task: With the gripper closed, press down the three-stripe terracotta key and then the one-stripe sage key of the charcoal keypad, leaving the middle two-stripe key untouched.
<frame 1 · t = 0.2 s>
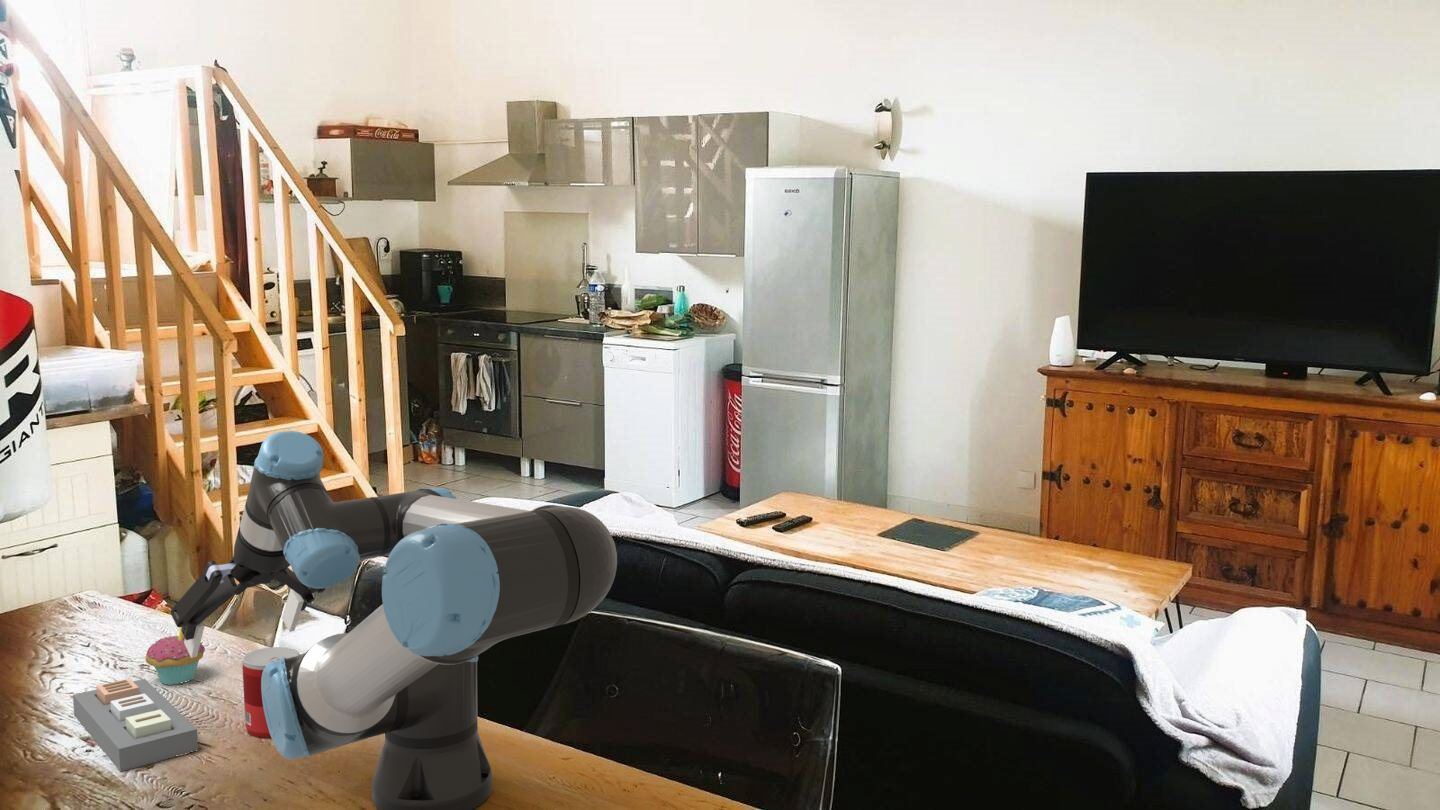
hand: (240, 636, 163), 16 cm above the table, tool tilted 35°, fingers open, 13 cm apart
cupcake: (176, 681, 189), on the table
tile 3: (117, 693, 174), point 4 cm above the table, slide at 0.0 cm
canned food: (274, 729, 172), on the table
keypad: (134, 732, 169), on the table
tile 2: (132, 708, 169), point 4 cm above the table, slide at 0.0 cm
tile 1: (148, 725, 163), point 4 cm above the table, slide at 0.0 cm
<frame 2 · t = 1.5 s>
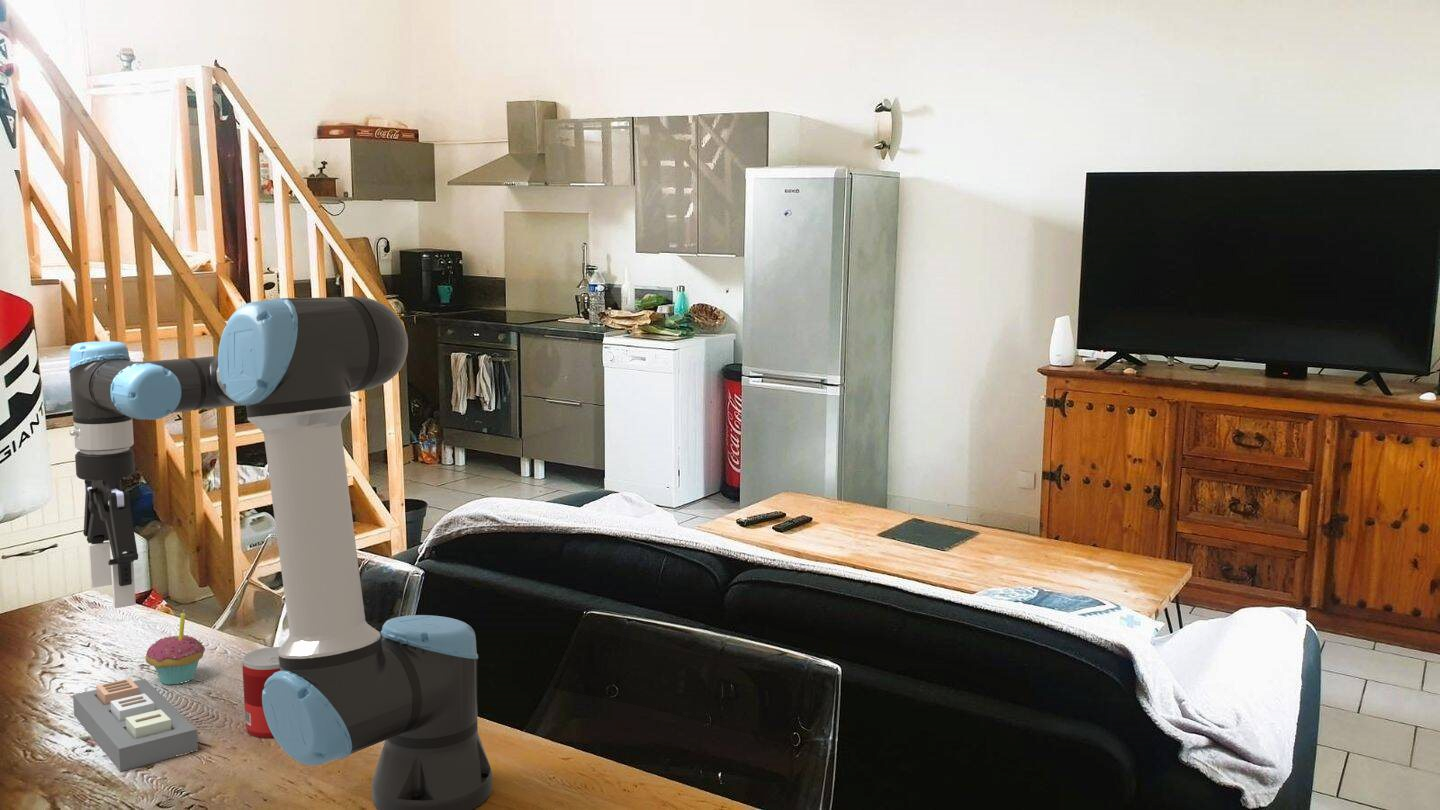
hand: (112, 595, 172), 19 cm above the table, tool pointing down, fingers open, 11 cm apart
nothing on the table moved.
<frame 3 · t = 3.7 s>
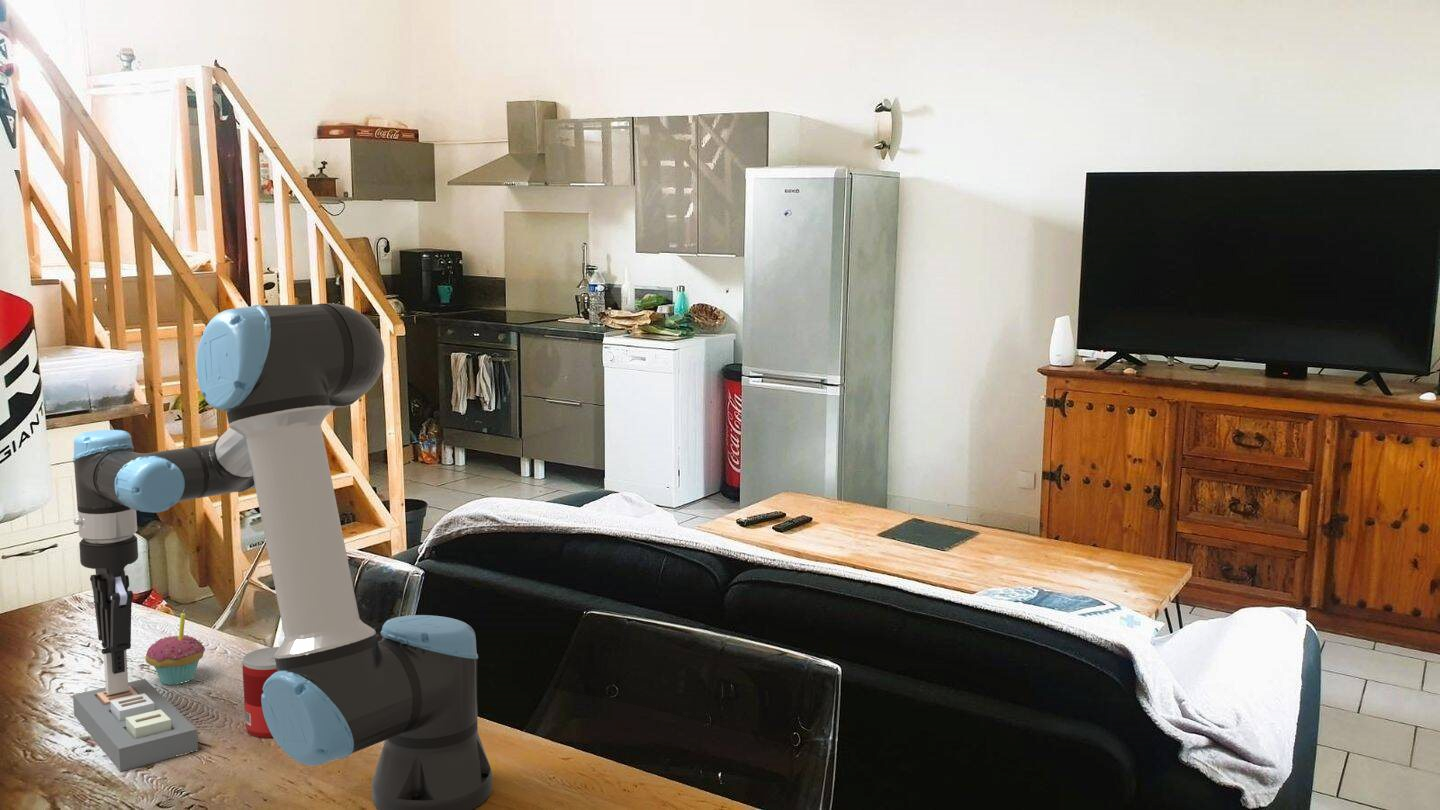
hand: (117, 691, 174), 4 cm above the table, tool pointing down, fingers closed
tile 3: (118, 700, 174), point 2 cm above the table, slide at 1.2 cm, touching gripper
everything else where it was.
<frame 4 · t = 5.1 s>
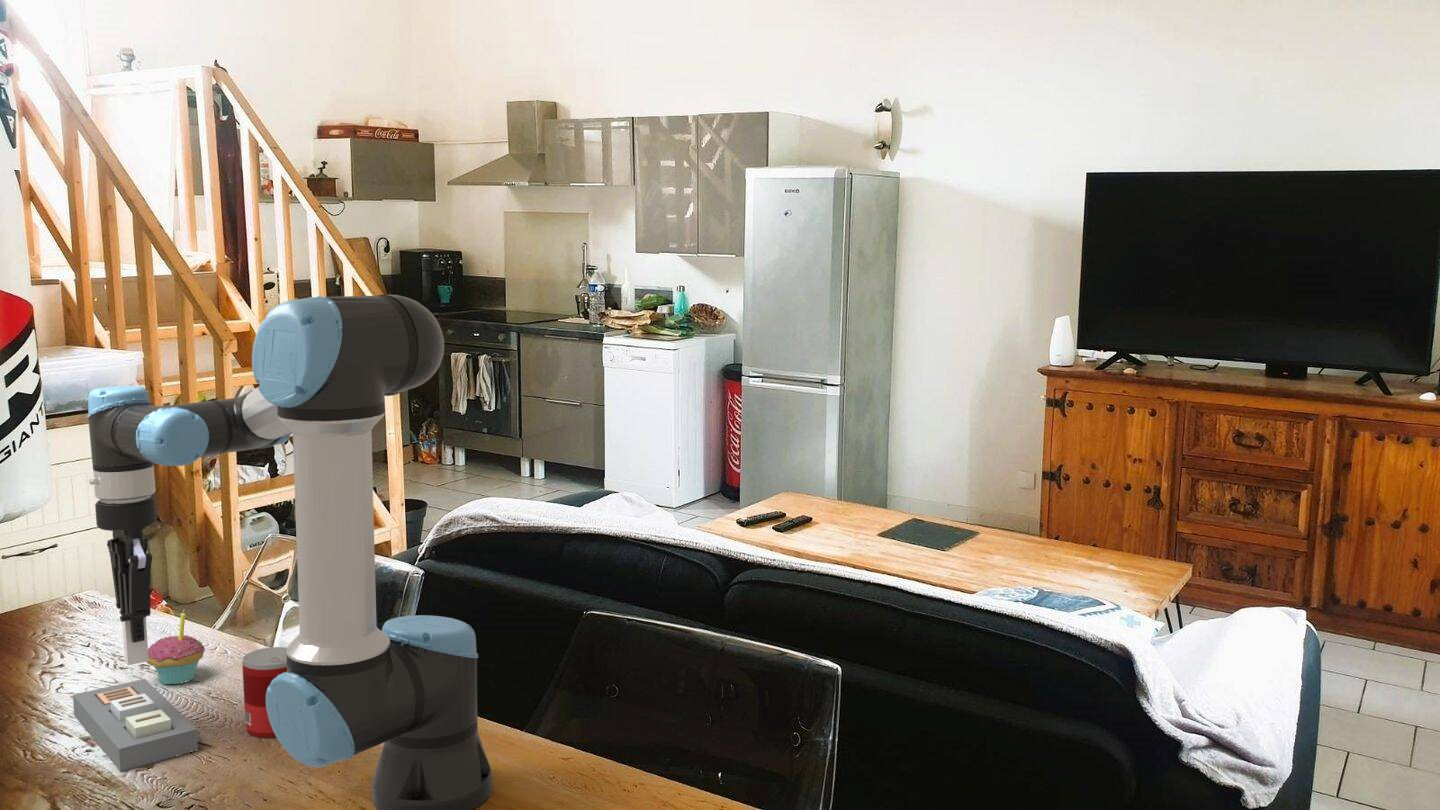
hand: (136, 661, 166), 11 cm above the table, tool pointing down, fingers closed
tile 3: (118, 701, 174), point 2 cm above the table, slide at 1.3 cm
everything else where it was.
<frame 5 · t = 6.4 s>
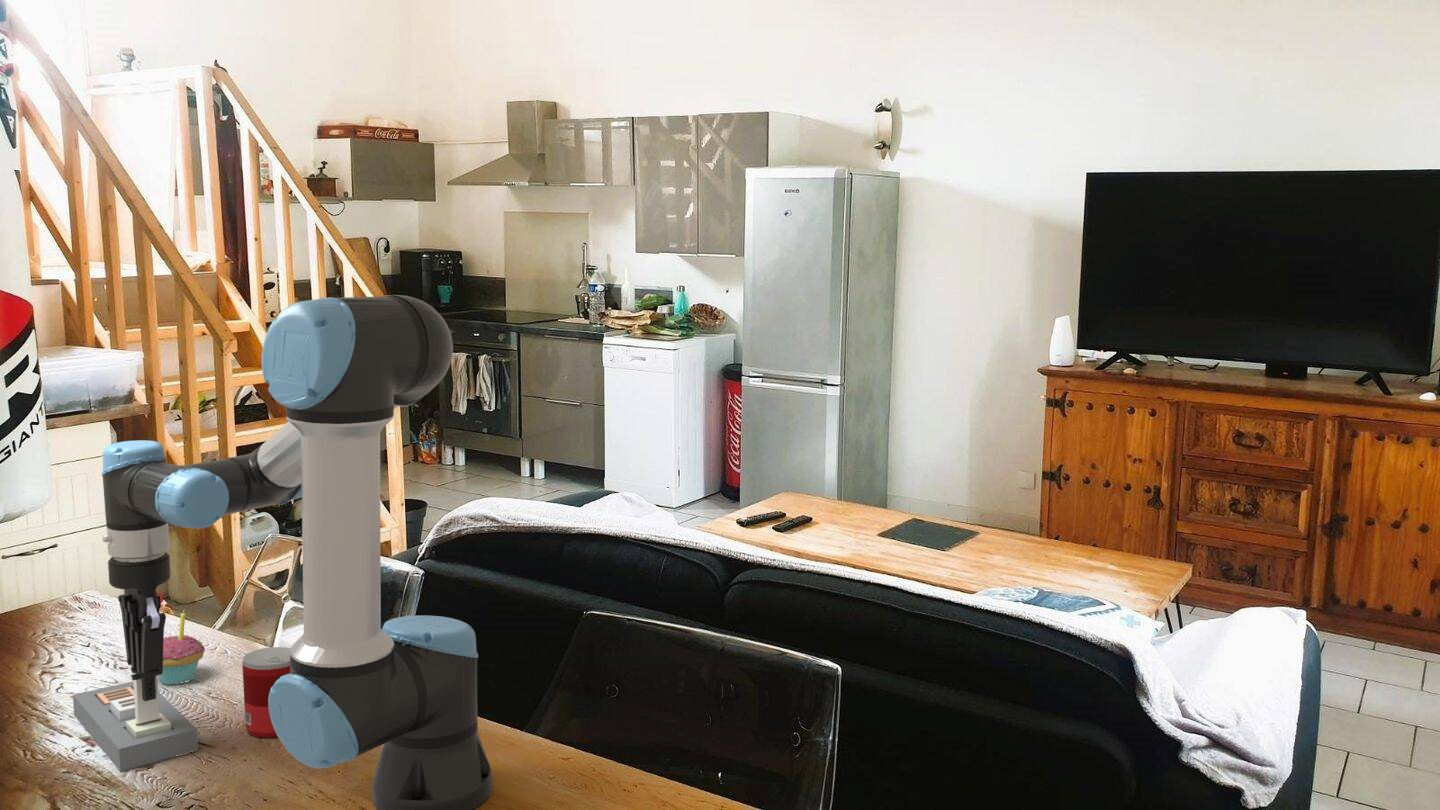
hand: (147, 719, 163), 4 cm above the table, tool pointing down, fingers closed
tile 1: (148, 729, 163), point 3 cm above the table, slide at 0.6 cm, touching gripper
everything else where it was.
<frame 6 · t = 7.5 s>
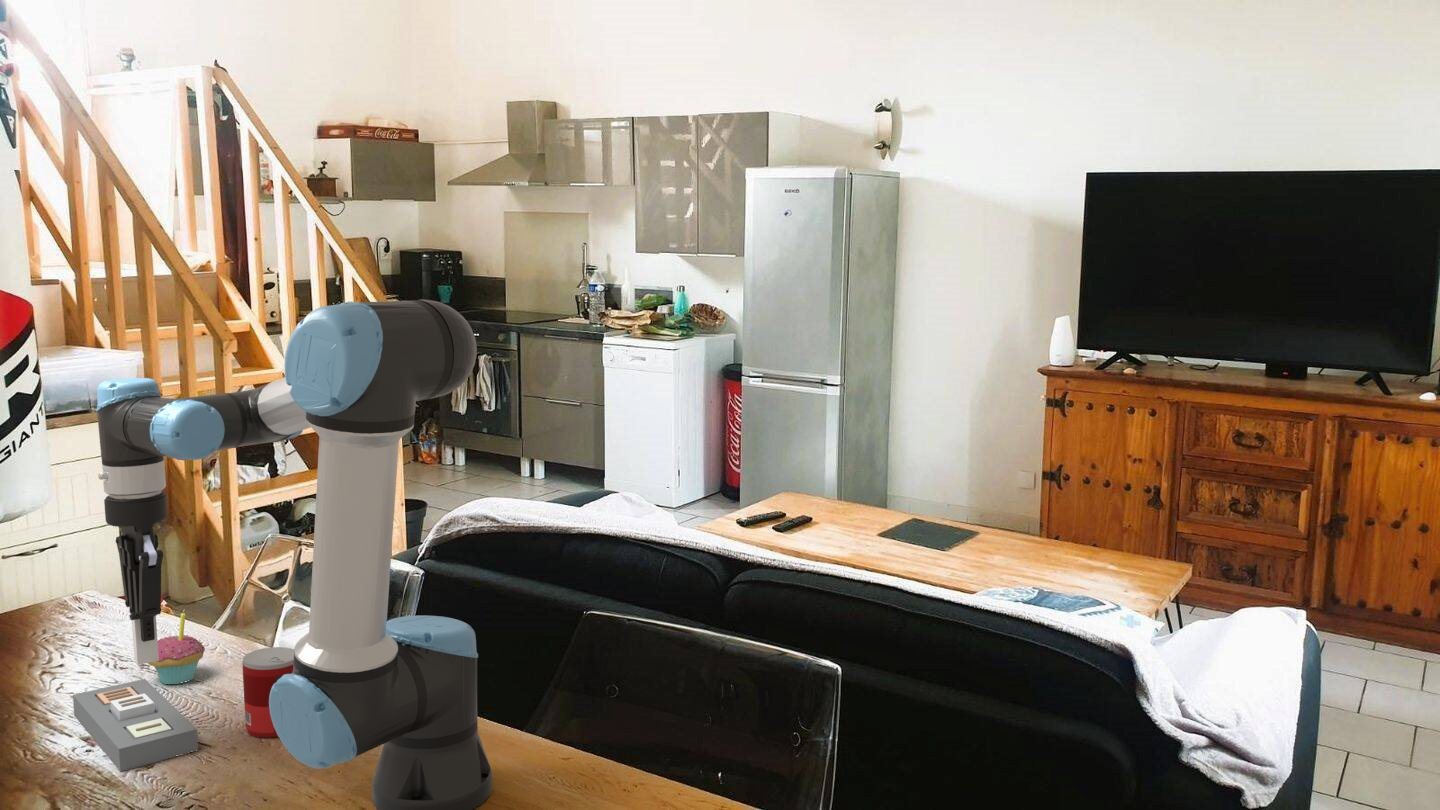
hand: (146, 661, 161), 13 cm above the table, tool pointing down, fingers closed
tile 1: (149, 734, 163), point 2 cm above the table, slide at 1.3 cm
everything else where it was.
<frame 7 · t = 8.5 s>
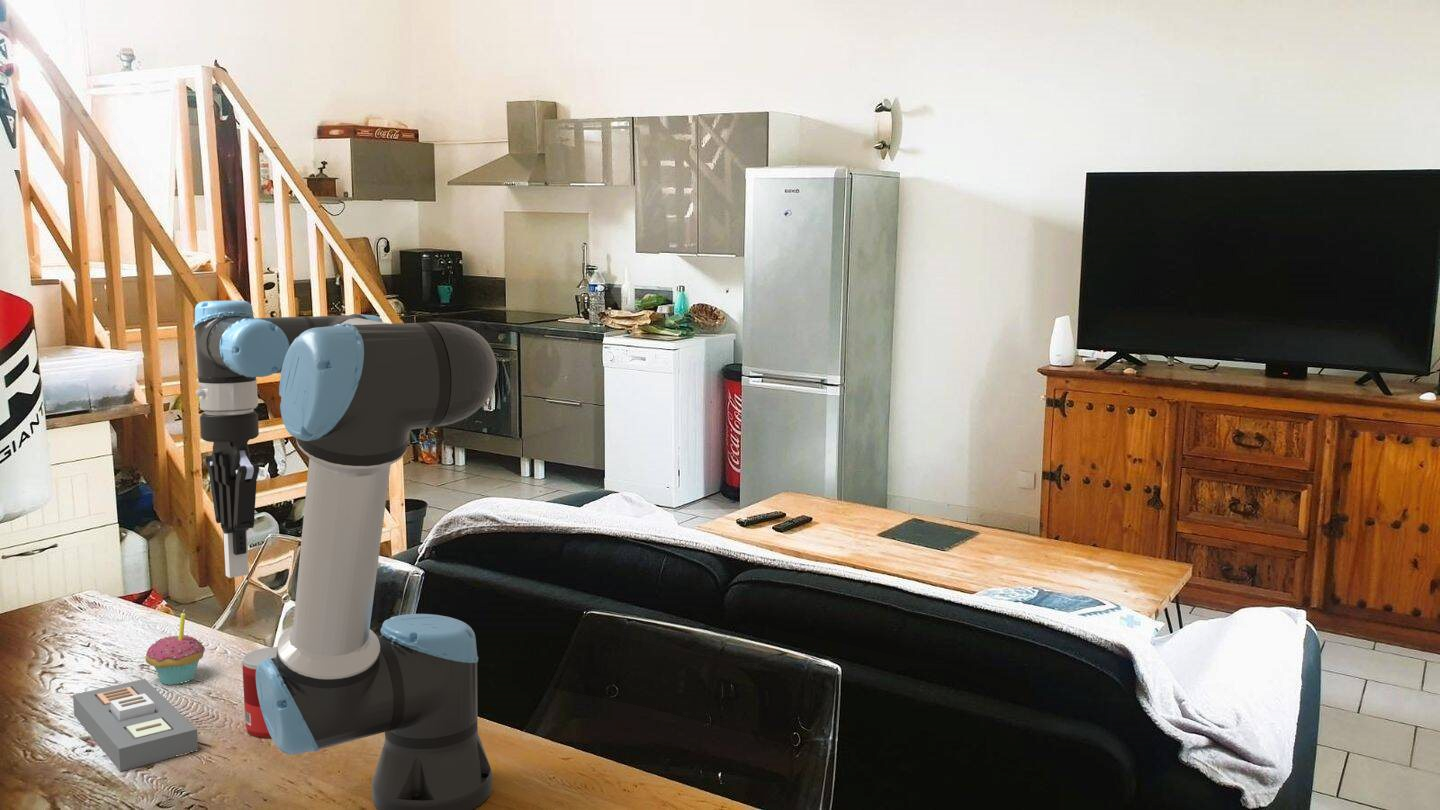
hand: (237, 574, 167), 23 cm above the table, tool pointing down, fingers closed
nothing on the table moved.
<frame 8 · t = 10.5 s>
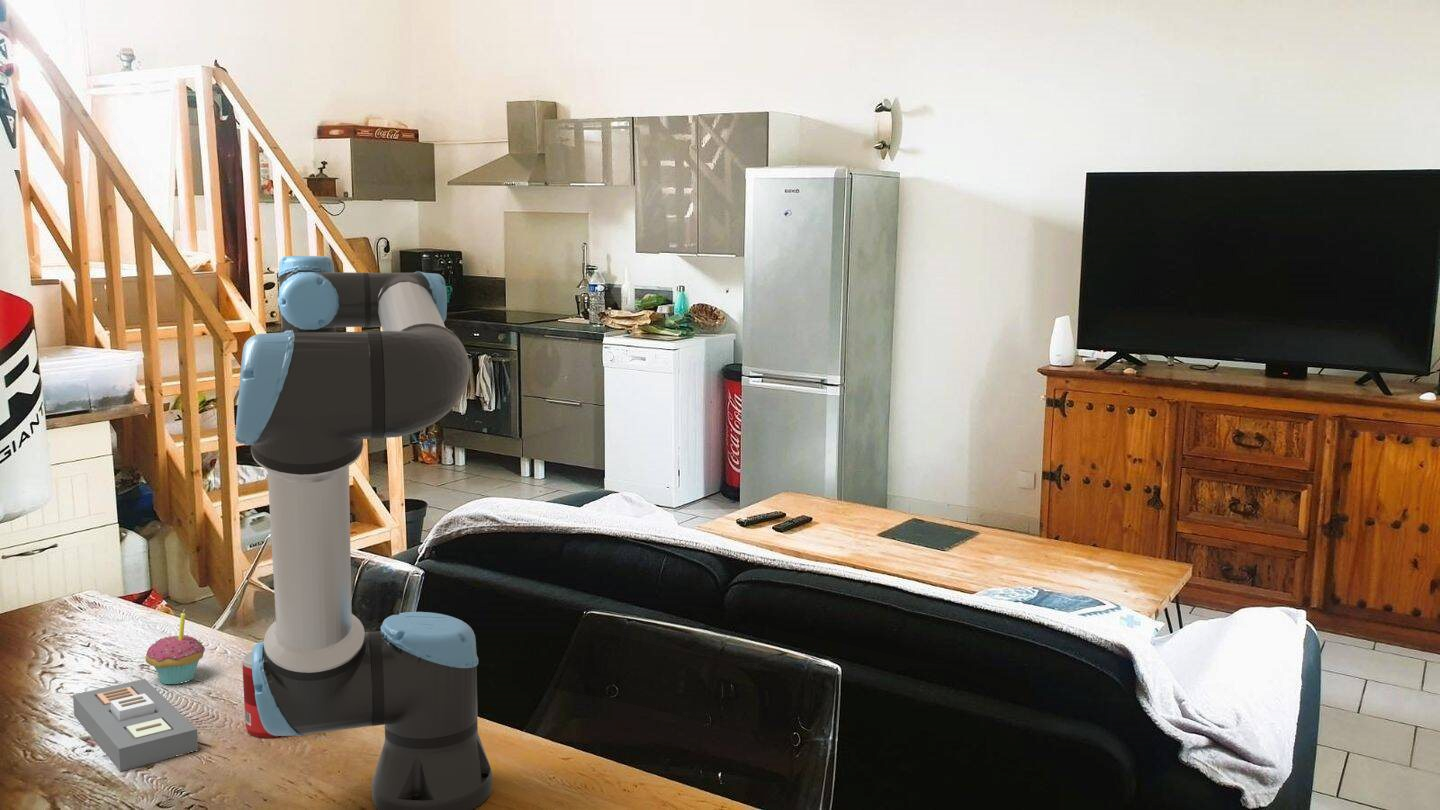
hand: (315, 520, 174), 29 cm above the table, tool pointing down, fingers closed
nothing on the table moved.
at the end: tile 3 slide at 1.3 cm; tile 1 slide at 1.3 cm; tile 2 slide at 0.0 cm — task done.
